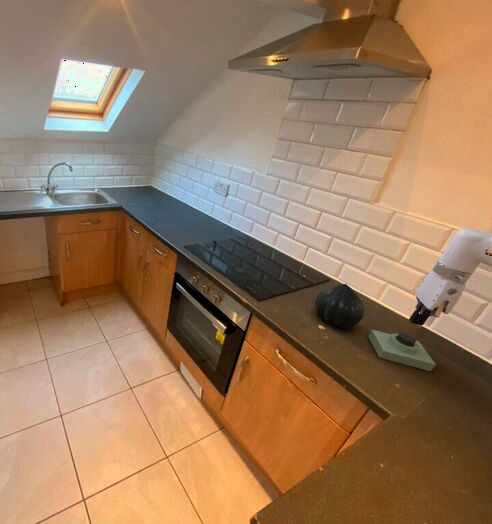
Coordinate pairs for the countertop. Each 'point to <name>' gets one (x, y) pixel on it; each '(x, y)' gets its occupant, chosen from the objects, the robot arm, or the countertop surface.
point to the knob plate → (400, 351)
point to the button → (406, 339)
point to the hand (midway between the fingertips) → (415, 322)
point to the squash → (339, 306)
